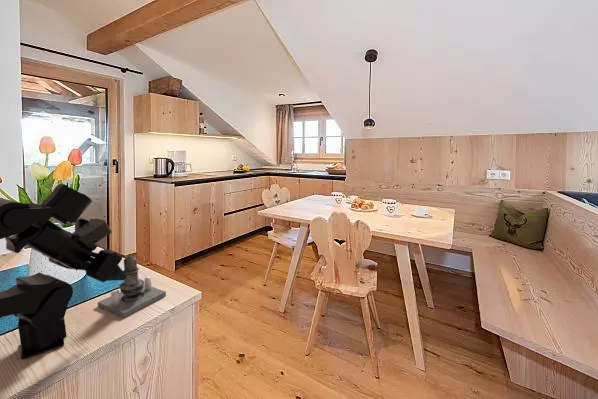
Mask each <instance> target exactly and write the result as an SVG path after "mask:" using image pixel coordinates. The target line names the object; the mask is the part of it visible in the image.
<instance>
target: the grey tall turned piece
mask: <svg viewBox="0 0 598 399" xmlns="http://www.w3.org/2000/svg"><path fill="white" fill-rule="evenodd" d="M123 267H124V268H123V270H122V271H123V272H124V273H125V274H126V276H127V277H126V278H125V280H123V282H121V283H120V284H119V285H118V289H119V292H122V293H123V294H124V295H123V296H122V297H121V300H122V301H123V302H134V301H137V300H140V299H141V298H143V297H144V293H143V292H140V291H141V290H142V289H143V285H144V284H145V280H144V279H140V277H139V267H138V260H137V257H136V256H132V254H131V253H128V255H127V257H125V258H124V259H123Z"/></svg>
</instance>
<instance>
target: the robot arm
mask: <svg viewBox="0 0 598 399" xmlns="http://www.w3.org/2000/svg"><path fill="white" fill-rule="evenodd" d="M92 203H93V200H92V199H91V198H90V197H89V196H88V195H86V194H85V193H82V192H80V191H78V190H76V189H74V188H73V187H70V186H68V185H66V184H64V183H58V184H57V185H56V187H54V189H53V191H52V192H51V193H50V194H49V195H48V196H47V197H45V199H44V200H43V201H42V202H41V203H40V204H39V203H34V202H28V203H27V202H26V203H23V202H19V201H15V200H12V199H11V200H10V199H6V198H0V240H2V239H5V241H6V242H5V243H6V244H5V249H6V250H7V251H10V252H12V253H15V254H19V253H20V252H22V251H23V249H24V248H25V247H28V248H29V249H32V250H34V251H35V252H38V253H40V254H41V255H43V257H46V258H48V262H50V263H52V264H54V265H56V266H58V267H61V268H65V269H68V270H75V271H85V274H86V276H87V277H89V278H90V279H91V278H92V279H93V280H96V281H99V282H101V283H105V282H107V281H108V282H109V281H111V282H113V281H124V280H125V278H126V277H127V276H126V274H125V273H124V272H123V270H122V268H121V267H120V265H119V264H120V262H121V261H122V260H123V255H121V254H120V253H118V252H117V251H115V250H111V249H107V248H106V249H102V250H99V252H95V250H96V249H97V248H98V244H97V243H98V242H100V241H101V240H103V239H104V238H106V237H107V236H109V235H111V234H112V229H111V228H110V226H109V224H108V223H107V221H106V220H104V219H101V218H89V220H88V219H85V218H83V217H82V218H81V215H82V214H83V213H85V211H86V210H87V209H88V207H90V205H91V204H92ZM50 220H52V221H54V222H55V223H58V224H60V225H62V226H66V225H67V223H68V224H70V225H72V224H74V231H73V232H70V231H68V230H66V229H64V228H63V227H61V226H59V225H57V224H55V223H54V222H52V221H50ZM15 282H16V284H15V285H13V286H12V287H9V288H8V289H6V290H3V291H0V319H1V318H4V317H8V316H12V315H13V316H14V317H16V318H18V324H17V328H18V335H19V341H20V342H19V343H20V348H21V349H20V359H22V360H23V359H28V358H30V357H33V356H37V355H40V354H42V353H46V352H49V351H52V350H55V349H59V348H61V347H64V346H65V339H66V338H67V329H66V320H65V315H66V312H67V309H68V305H69V303H70V301H71V299H72V297H73V294H74V289H73V287H72V285H71V284H70V283H69V282H67V281H65V280H62V279H60V278H57V277H55V276H52V275H49V274H44V273H42V272H37V273H35V274H33V275H27V276H18V277H15Z"/></svg>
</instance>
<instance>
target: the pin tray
mask: <svg viewBox="0 0 598 399" xmlns="http://www.w3.org/2000/svg"><path fill="white" fill-rule="evenodd" d="M144 282H145V283H144V285H143V289H142V290H141V291H140V292H143V293H144V297H143V298H141V299H140V300H137V301H134V302H123V301H122V300H121V297H122V296H123V295H124V294H123V293H122V292H121V291H120V289H119V290H118V289H115V290H112V291H110V292H111V293H110V294H111V295H110V296H109V297H106V298H103V299H102V300H99V301H97V307H98V308H101V309H103V310H105V311H108V312H110V313H112V314H114V315H117V316H119V317H121V318H126V317H128V316H130V315H132V314H135V313H136V312H138V311H139V310H142V309H143V308H145V307H147V306H149V305H150V304H153V303H154V301H155V302H157V301H158V299H159V300H160V298H161V299H162V298H164V297H166V296H167V291H165V290H162V289H159V288H157V287H154V286H152V276H150V275H147V276H144ZM156 300H157V301H156Z"/></svg>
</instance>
